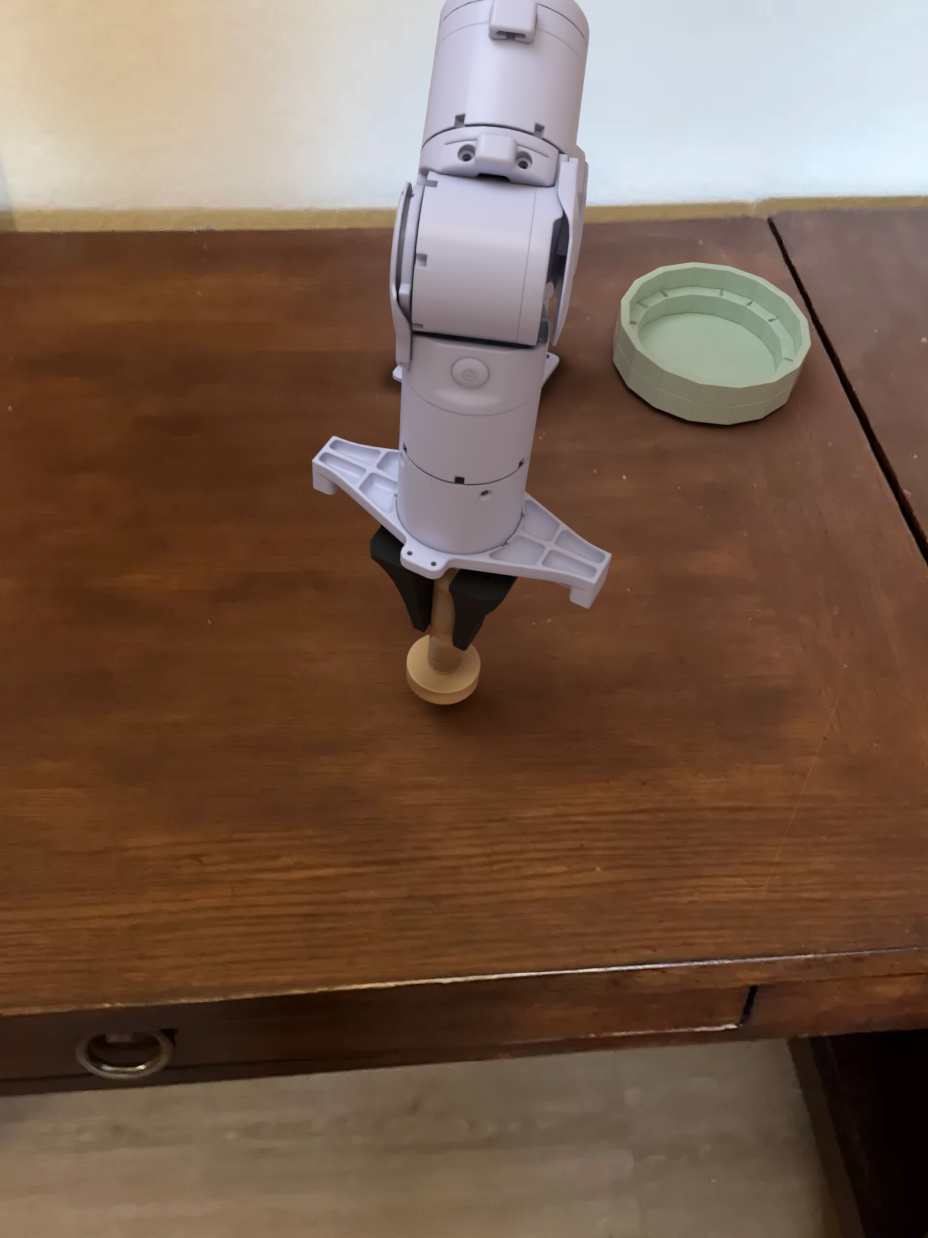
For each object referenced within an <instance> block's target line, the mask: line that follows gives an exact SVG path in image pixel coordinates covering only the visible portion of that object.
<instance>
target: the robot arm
mask: <svg viewBox="0 0 928 1238" xmlns="http://www.w3.org/2000/svg"><path fill="white" fill-rule="evenodd" d="M589 27H590V26H589V22H588V19H587V17H586V15H585V13H584V11H583V10H582V8H581V7H580V5H579V4H578V3H577V2H576V0H445V2H444V4H443V6H442V8H441V11H440V13H439V21H438V28H437V30H438V31H437V35H436V41H435V48H434V55H433V61H432V62H433V63H432V69H431V70H432V71H431V77H430V85H429V90H428V97H427V106H426V112H425V120H424V127H423V131H422V132H423V133H422V141H421V147H420V155H419V160H418V161H419V162H418V169H417V177H416V181H415V185H414V186H412V183H411V181H406V182H405V183H404V185H403V188H402V191H401V194H400V197H399V200H398V205H397V208H396V214H395V221H394V227H393V234H392V242H391V252H390V263H389V264H390V266H389V300H390V308H391V315H392V322H393V329H394V332H395V363H396V365H397V366H396V367H394V370H393V371H392V378H393V380H395V381H396V382H399V383H401V388H400V390H401V391H400V416H399V436H398V438H399V441H398V449H393V448H386V447H378V446H372V445H368V444H367V445H366V444H360V443H357V442H353V441H349V440H347V439H344V438H341V437H339V436H337V435H332V436H331V437H330V439H329V440H328V441H327V442H326V443H325V444H324V446H323V447H322V448H321V449H320V450H319V452H318V453H317V454H316V455H315V456H314V458H312V460H311V465H312V466H311V467H312V487H313V489H314V490H316V491H319V492H320V493H323V494H325V495H328V496H332V495H335V494H336V493H337V492H338V490H339V489H341V490H342V491H344V492H345V493H346V494H347V495H348V496H349V497H350V498H351V499H352V500H354V502H356V503H357V504H358V505H359V506H360V507H361V508H362V509H364V510H365V511H366V512H367V513H368V514H370V515H371V516H372V517H373V518H374V519H375V520H376V521H377V522H378V523H379V524H380V526H379V528H378V529H377V530H376V532H375V533H374V534H373V536H372V537H371V539H370V541H369V554H370V559H372V560H373V561H374V562H375V563H376V564H377V565H379V567H381V569H383V571H384V572H385V573H386V575H388V577H389V578H390V579H391V581H392V582H393V584H394V586H395V587H396V588H397V590H398V592H399V594H400V596H401V598H402V600H403V603H404V606H405V608H406V611H407V614H408V617H409V619H410V622H411V625H412V627H413V629H414V630H417V631H419V632H421V633H423V634H424V633H425V632H426V630H427V629H428V628H429V627H430V621H431V609H432V597H433V585H434V579H437V578H440V577H441V576H442V575H443V574H444V573H445V571H446V570H447V569H448V568H451V567H454V568H460V570H459V571H458V573H457V574H456V576H455V577H454V579H453V580H452V581H451V583H450V584H449V589H448V591H449V592H450V594H451V596H452V598H453V602H454V607H455V623H454V629H453V635H452V643H453V646H454V647H456V648H458V649H460V650H462V651H466V650H467V649H468V647H469V645H470V644H472V642H473V641H474V639H475V638H476V636H477V635H478V633H479V631H480V630H481V629H482V627H483V624H484V621H485V619H486V616H488V615H489V614H491V613H493V612H494V611H495V610H496V609H498V607H499V606H500V605H501V604H502V603H503V601H504V600H505V599H506V597H507V596H508V594H509V593H510V591H511V589H512V588H513V586H514V584H515V583H516V582H517V580H518V579H519V578H525V579H526V578H527V579H531V580H538V581H539V580H541V581H547V582H553V583H555V584H558V585H560V586H562V587H564V588H566V589H569V595H568V599H569V601H570V602H572V604H573V603H574V604H575V605H578V606H580V607H582V608H584V609H586V610H587V609H588V610H589V609H590V608H591V606H592V605H593V603H594V601H595V600H596V598H597V597H598V595H599V593H600V591H601V589H602V588H603V585H604V584H605V583H606V579H607V576H608V572H609V568H610V564H611V561H612V556H613V554H612V553H611V552H608V551H606V550H604V549H602V548H600V547H597V546H596V545H594V544H593V543H591V542H589V541H588V540H586V539H585V538H583V537H582V536H580V535H579V534H578V533H576V532H575V531H574V530H573V529H572V528H570V527H569V526H568V525H567V524H566V523H564V522H563V521H562V520H560V518H558V517H557V516H556V515H554V514H553V513H552V512H551V511H549V510H548V509H547V507H545V506H543V504H542V503H540V502H539V501H538V500H537V499H535V498H534V497H532V496H531V495H530V494H529V493H528V492H527V491H526V485H527V480H528V473H529V466H530V461H531V455H532V450H533V442H534V438H535V437H534V436H535V432H536V424H537V419H538V414H539V406H540V401H541V400H540V399H541V394H542V388H543V387H544V385H545V384H546V382H547V381H548V380H549V379H550V377H551V375H552V374H553V373H554V372H555V370H556V369H557V367H558V366H559V363H560V357H559V356H558V355H556V354H554V353H551V352H549V346H550V345H549V344H550V340H551V343H552V344H551V345H552V346H553V347H556V346H557V343H558V340H559V337H560V336H561V333H562V330H563V328H564V325H565V323H566V319H567V315H568V310H569V305H570V299H571V293H572V287H573V282H574V281H573V280H574V276H575V274H576V271H577V268H578V263H579V256H580V251H581V250H580V249H581V244H582V237H583V231H584V223H585V215H586V207H587V197H588V196H587V195H588V181H589V163H588V162H587V161H586V153H585V151H584V150H583V149H582V148H581V147H580V146H579V145H578V144H577V141H578V133H579V125H580V117H581V109H582V100H583V93H584V84H585V77H586V69H587V60H588V54H589V53H588V52H589V45H590V28H589ZM554 294H555V306H554V314H553V323H552V335H551V322H550V317H549V313H548V310H549V306H550V299H552V298H553V295H554ZM551 336H552V337H551ZM550 338H551V339H550Z"/></svg>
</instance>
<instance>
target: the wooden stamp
mask: <svg viewBox="0 0 928 1238" xmlns="http://www.w3.org/2000/svg"><path fill="white" fill-rule="evenodd" d="M459 570H460V568H454V567H451V568H448V569H447V570H446V571H445V573H444V574H443V575H442V576H441V577H440V578H437V579H434V585H433V597H432V609H431V621H430V625H429V634H427V635H424V636H423V637H421V638H419V639H418V640H416V641H415V642H414V643H413V645H412V646H411V647H410V649H409V650H408V653H407V656H406V666H405V677H406V681H407V684H408V686H409V687H410V689H411V691H412V692H413V693H414V694H415V695H416V696H418V697H419V698H420V699H421V700H424V701H426V702H428V703H431V704H434V705H452V704H456V703H459V702H462V701H463V700H466V699H467V698H469V696H470V695H472V694H473V693H474V692H475V690H476V688H477V687H478V683H479V679H480V673H481V665H482V663H481V658H480V654H479V653H478V650H477V649H476V648H475V646H474V645H473V644H472V643H471V644H470V645H469V647H468V649H467V650H466V651H462V650H460V649H458V648H456V647H454V646H453V643H452V635H453V629H454V623H455V607H454V602H453V598H452V596H451V594H450V592H449V591H448V589H449V584H450V583H451V581H452V580H453V579H454V577H455V576H456V574H457V573H458V571H459Z"/></svg>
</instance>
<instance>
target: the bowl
mask: <svg viewBox="0 0 928 1238" xmlns="http://www.w3.org/2000/svg"><path fill="white" fill-rule="evenodd" d="M800 309H801V308H799V307H798V305H797V304H796V302H795V301H794V300H793V298H792V297H791V296H790V295H788V294H787V293H786V292H784V291H782V289H779V287H777V286H776V285H774V284H772V283H771V282H769V281H768V280H766V279H765V278H763V277H762V276H758V275H755V274H753V273H750V272H748V271H745V270H741V269H740V268H736V267H733V266H730V265H725V264H723V265H722V264H715V263H706V262H698V261H691V262H683V263H678V264H677V263H675V264H670V265H664V266H659V267H657V268H656V269H653V270H652V271H650V272H648V273H646V274H644V275H643V276H641V277H638V278H636V279H635V280H634V281H633V282H632V284H631V285H630V286H629V287H628V289H627V291H626V292H625V293H624V295H623V296H622V297H621V300H620V303H619V308H618V312H617V318H616V322H615V326H614V332H613V335H612V361H613V364H614V366H615V367H616V369H617V371H618V372H619V374H620V376H621V379H623V381H624V383H625V385H626V386H627V387H628V388H629V389H630V390H631V391H632V392H634V393H635V394H637V395H638V396H639V397H640V398H642V399H643V400H644V401H645V402H646V403H648V404H649V405H651V406H652V407H654V408H655V409H658V410H661V411H663V412H666V413H668V414H671V415H673V416H676V417H678V418H681V419H683V420H686V421H690V422H697V423H707V424H716V425H724V426H725V425H728V426H729V425H735V424H740V423H745V422H751V421H756V420H757V421H758V420H761V419H763V418H764V417H766V416H768V415H769V414H771V413H772V412H774V411H776V410H777V409H779V408H781V407H782V406H784V405H786V403H787V402H788V400H789V398H790V397H791V395H792V392H793V391H794V388H795V387H796V385H797V382H798V380H799V378H800V375H801V372H802V369H803V367H804V364H805V362H806V359H807V357H808V354H809V352H810V349H811V347H812V341H811V334H810V327H809V320H808V319H807V317H806V316H805V315H804V313H803V312H802V311H801V310H800Z"/></svg>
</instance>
